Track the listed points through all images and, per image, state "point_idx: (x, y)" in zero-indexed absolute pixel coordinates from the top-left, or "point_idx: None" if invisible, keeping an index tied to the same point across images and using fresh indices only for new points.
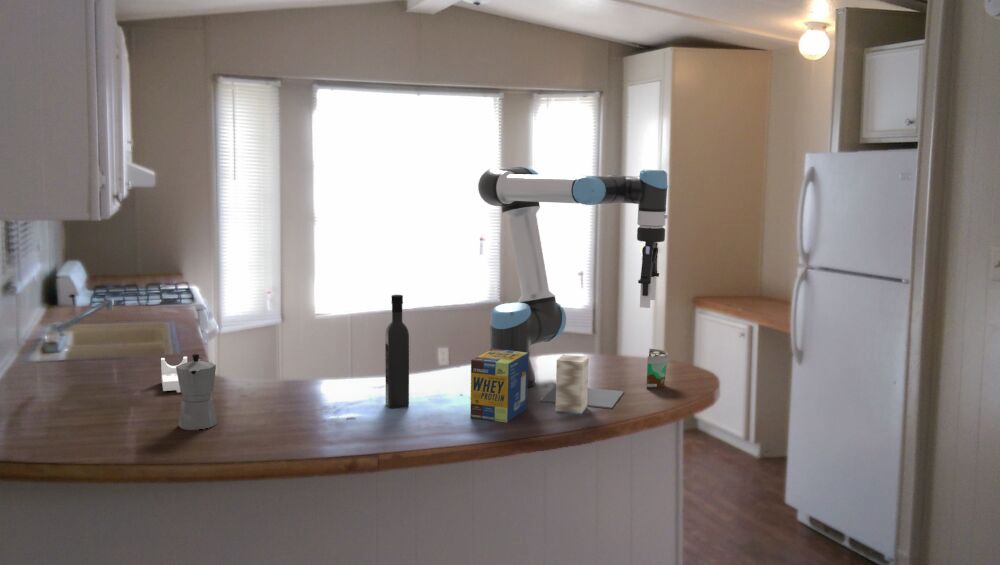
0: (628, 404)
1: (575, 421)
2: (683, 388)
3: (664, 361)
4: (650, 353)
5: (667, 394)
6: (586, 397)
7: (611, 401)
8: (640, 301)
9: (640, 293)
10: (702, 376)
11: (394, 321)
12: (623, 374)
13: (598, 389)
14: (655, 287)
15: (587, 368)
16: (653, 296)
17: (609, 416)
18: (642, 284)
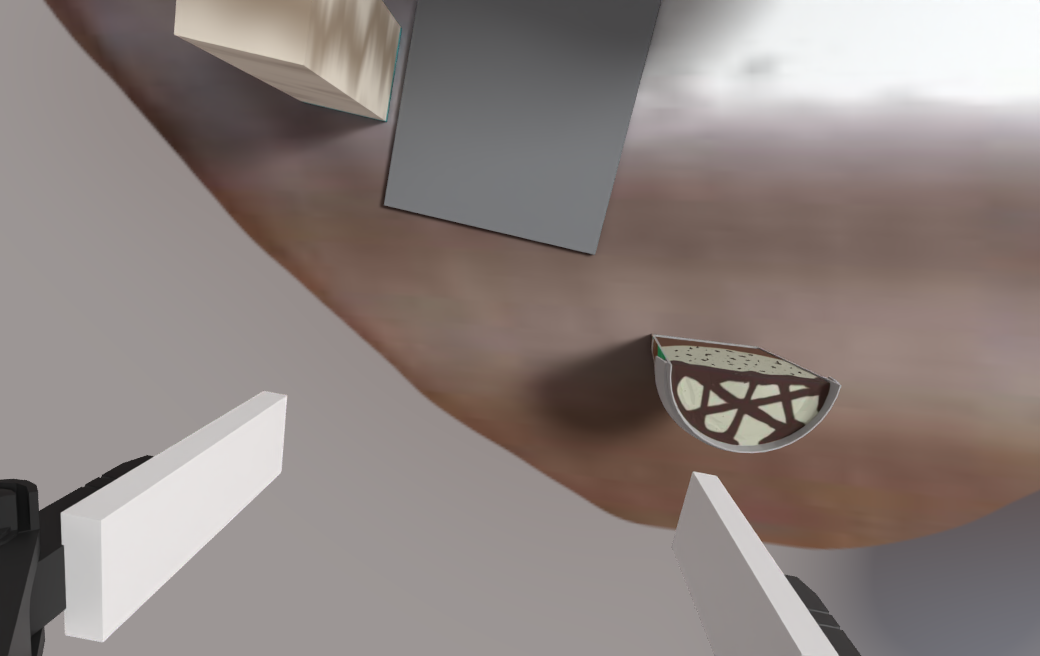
0: (449, 262)
1: (219, 83)
2: (672, 451)
3: (680, 425)
4: (784, 382)
5: (590, 394)
6: (358, 109)
7: (455, 206)
8: (232, 414)
9: (174, 446)
10: (841, 529)
11: None
12: (869, 265)
13: (611, 163)
14: (708, 639)
15: (312, 78)
16: (683, 554)
17: (299, 196)
18: (74, 525)
